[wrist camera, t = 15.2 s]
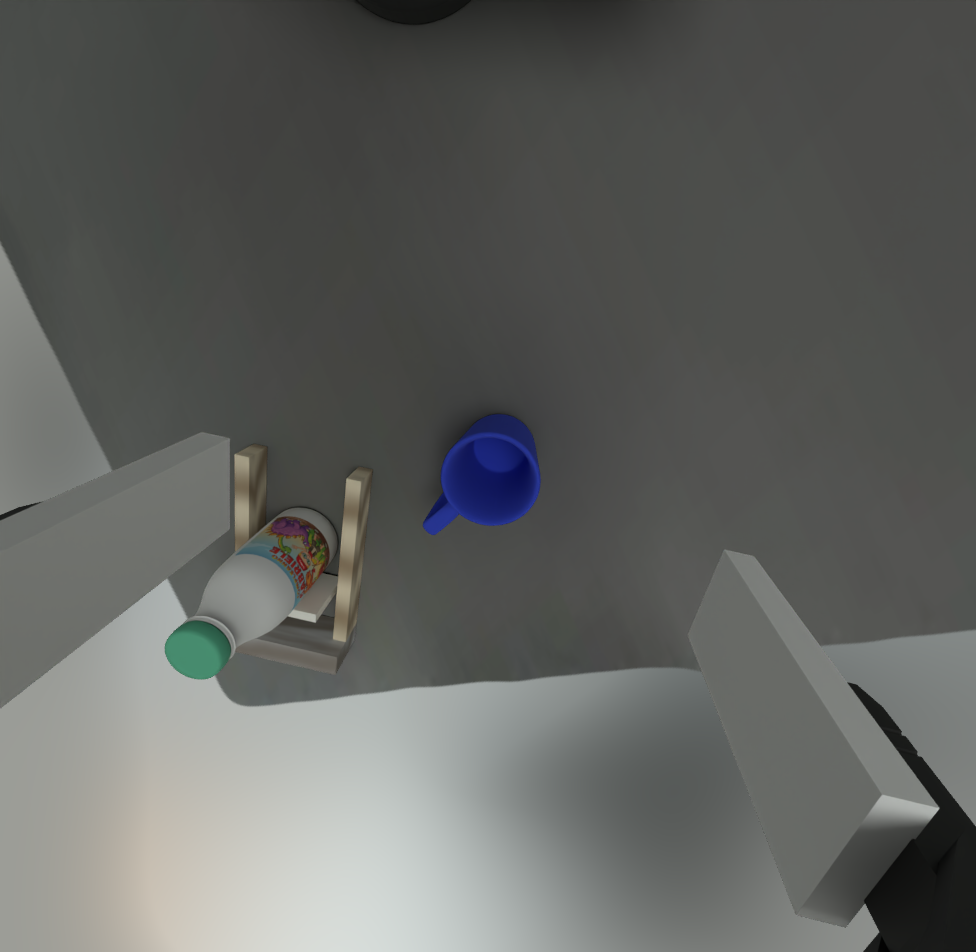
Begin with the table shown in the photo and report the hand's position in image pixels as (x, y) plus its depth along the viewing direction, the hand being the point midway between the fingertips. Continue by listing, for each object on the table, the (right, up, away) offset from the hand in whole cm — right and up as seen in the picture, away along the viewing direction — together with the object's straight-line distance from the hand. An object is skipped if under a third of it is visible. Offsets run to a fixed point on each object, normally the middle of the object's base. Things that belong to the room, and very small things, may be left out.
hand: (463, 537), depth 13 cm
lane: (-20, -7, +44) cm, 49 cm away
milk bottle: (-20, -5, +44) cm, 48 cm away
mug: (+1, +4, +38) cm, 38 cm away
